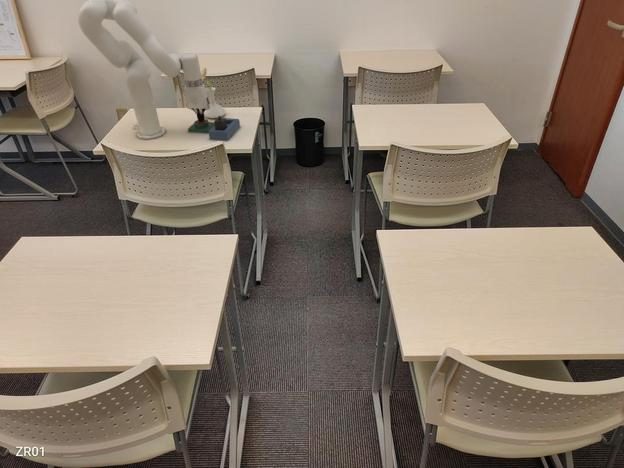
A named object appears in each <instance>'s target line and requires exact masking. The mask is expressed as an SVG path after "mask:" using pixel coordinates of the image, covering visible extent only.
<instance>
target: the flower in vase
mask: <svg viewBox="0 0 624 468" xmlns="http://www.w3.org/2000/svg"><path fill="white" fill-rule="evenodd" d="M207 70H208V69H207V67H203V69H201V77H202V82H203V83H204V82H205V79H206V81H207V82H206V85H207V86H208V87H205V88H206V90H207V94H208V98H209V106H210V109H209V110H205V111H204V117H205V118H207V119H217V118H218V116H221V117H223V116H225V115H226V113H227V110H226V109H225V108H224V107H223V106H221V105H220V104H218V103H217V102H216V100H215V99H216V98H215V92H216V89H217V88H216V87H214V86H213V84H212V82H211V81H210V80H209V78H208V77H207Z"/></svg>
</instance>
